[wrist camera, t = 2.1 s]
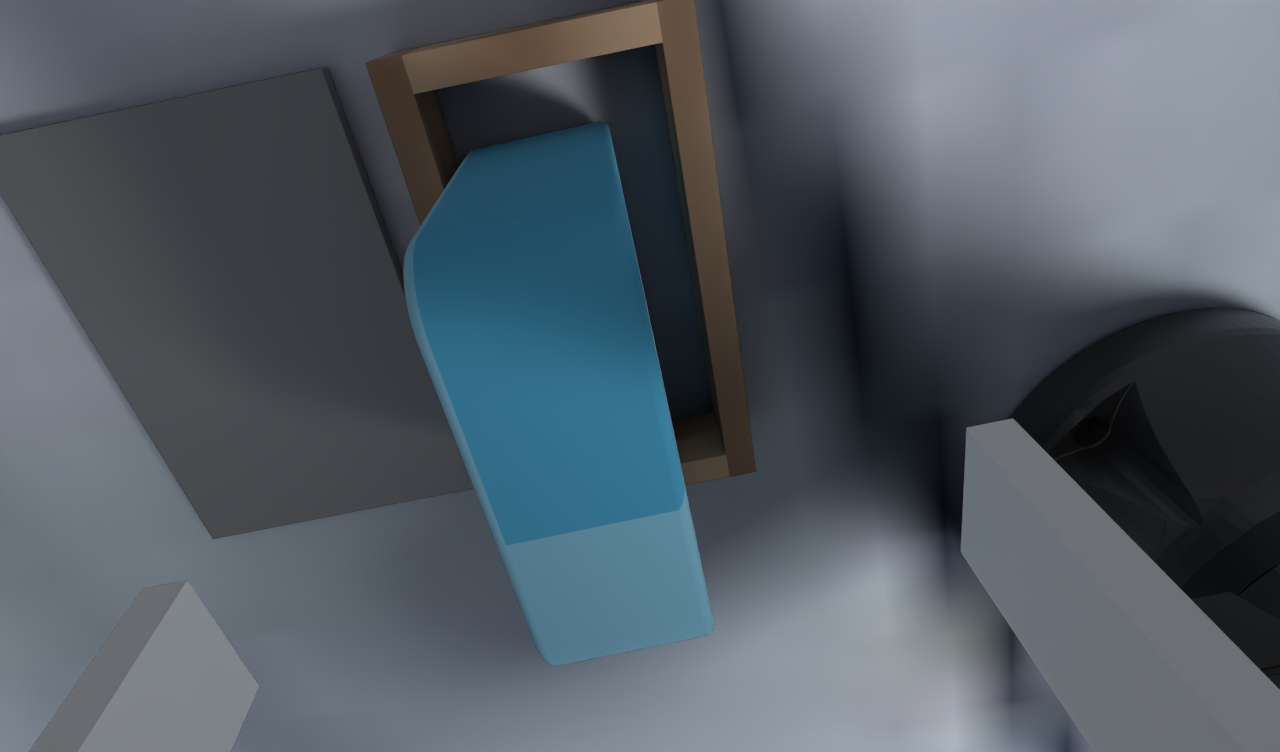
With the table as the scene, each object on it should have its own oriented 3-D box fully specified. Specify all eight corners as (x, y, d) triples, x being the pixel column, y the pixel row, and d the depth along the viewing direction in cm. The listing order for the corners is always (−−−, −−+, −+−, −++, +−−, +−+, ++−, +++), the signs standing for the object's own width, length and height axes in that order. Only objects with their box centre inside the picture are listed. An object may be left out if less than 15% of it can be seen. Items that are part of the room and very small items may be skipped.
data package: (671, 418, 29) (722, 662, 19) (561, 440, 30) (552, 696, 19) (606, 111, 24) (627, 216, 13) (470, 141, 24) (383, 269, 13)
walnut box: (679, -8, 22) (693, -6, 19) (740, 428, 30) (756, 471, 27) (390, 53, 22) (365, 63, 20) (524, 469, 30) (519, 517, 27)
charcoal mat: (327, 66, 22) (321, 68, 22) (477, 479, 30) (475, 488, 30) (-18, 138, 23) (-32, 142, 22) (219, 529, 30) (212, 538, 30)
